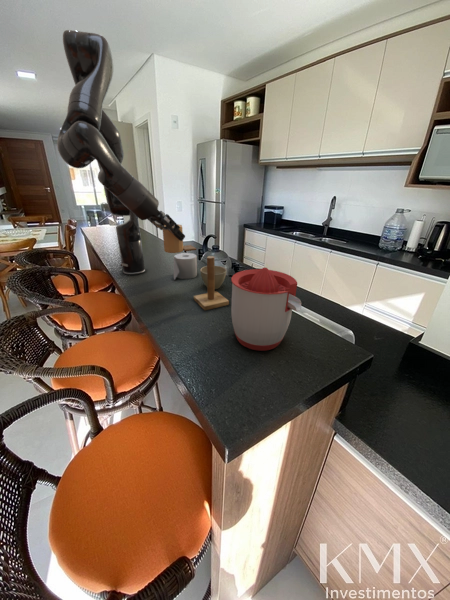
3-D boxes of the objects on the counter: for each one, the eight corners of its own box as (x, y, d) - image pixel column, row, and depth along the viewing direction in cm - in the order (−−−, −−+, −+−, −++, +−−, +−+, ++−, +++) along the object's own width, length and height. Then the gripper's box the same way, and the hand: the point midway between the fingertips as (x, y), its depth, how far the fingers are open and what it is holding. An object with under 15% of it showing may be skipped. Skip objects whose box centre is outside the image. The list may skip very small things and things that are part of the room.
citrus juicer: (281, 368, 56) (294, 287, 47) (217, 343, 64) (218, 270, 55) (302, 335, 68) (315, 266, 59) (246, 317, 76) (250, 254, 67)
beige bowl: (196, 289, 95) (195, 271, 92) (207, 280, 103) (207, 264, 100) (220, 293, 92) (220, 275, 89) (229, 284, 100) (230, 267, 97)
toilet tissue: (170, 281, 101) (169, 261, 98) (178, 270, 113) (177, 252, 110) (192, 282, 101) (191, 262, 97) (198, 271, 113) (197, 253, 109)
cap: (168, 253, 78) (165, 227, 74) (162, 249, 83) (160, 224, 79) (197, 250, 82) (196, 225, 79) (190, 246, 87) (189, 222, 83)
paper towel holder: (193, 299, 87) (192, 255, 80) (216, 294, 91) (216, 252, 84) (204, 310, 80) (203, 262, 73) (228, 304, 84) (230, 259, 77)
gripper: (156, 189, 64) (196, 231, 76) (135, 187, 74) (173, 224, 86) (139, 212, 63) (182, 250, 75) (120, 206, 73) (161, 241, 85)
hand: (177, 236), depth 81 cm, fingers closed on cap, 6 cm apart
